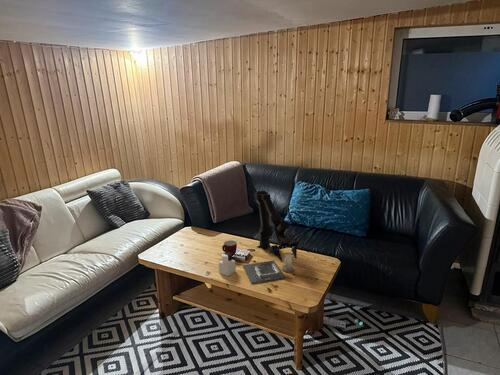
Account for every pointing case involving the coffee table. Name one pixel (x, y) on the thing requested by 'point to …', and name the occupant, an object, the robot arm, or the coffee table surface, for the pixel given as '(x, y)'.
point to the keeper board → (263, 272)
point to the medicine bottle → (227, 264)
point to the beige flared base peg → (288, 263)
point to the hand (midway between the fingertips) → (289, 260)
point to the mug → (230, 247)
